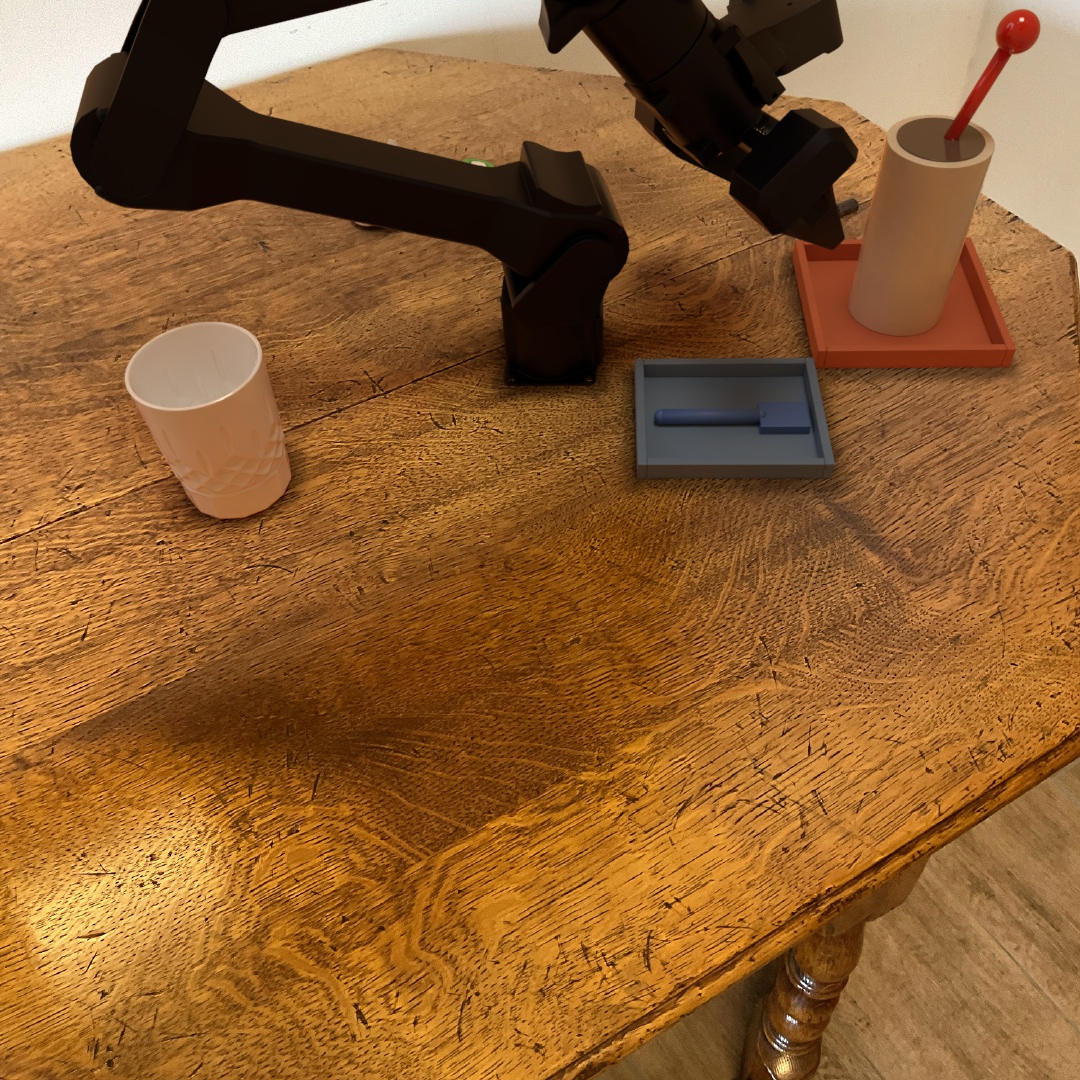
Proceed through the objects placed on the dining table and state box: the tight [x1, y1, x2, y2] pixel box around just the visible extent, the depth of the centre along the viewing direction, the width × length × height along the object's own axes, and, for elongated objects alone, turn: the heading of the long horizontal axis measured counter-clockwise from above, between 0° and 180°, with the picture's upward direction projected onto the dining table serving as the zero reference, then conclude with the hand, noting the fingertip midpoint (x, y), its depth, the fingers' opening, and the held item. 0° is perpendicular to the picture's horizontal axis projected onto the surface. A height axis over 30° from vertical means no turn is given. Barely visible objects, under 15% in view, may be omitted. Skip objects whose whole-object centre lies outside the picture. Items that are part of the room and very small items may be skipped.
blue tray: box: [633, 357, 836, 479], centre depth 66 cm, size 12×10×2 cm
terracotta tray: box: [791, 237, 1017, 369], centre depth 73 cm, size 13×13×2 cm
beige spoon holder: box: [848, 8, 1041, 336], centre depth 65 cm, size 8×7×20 cm
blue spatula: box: [654, 402, 811, 434], centre depth 66 cm, size 10×2×1 cm, turn 87°
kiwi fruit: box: [459, 157, 497, 167], centre depth 86 cm, size 6×5×3 cm
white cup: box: [124, 321, 292, 520], centre depth 62 cm, size 8×8×10 cm
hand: (801, 215), depth 66 cm, fingers open, 9 cm apart
